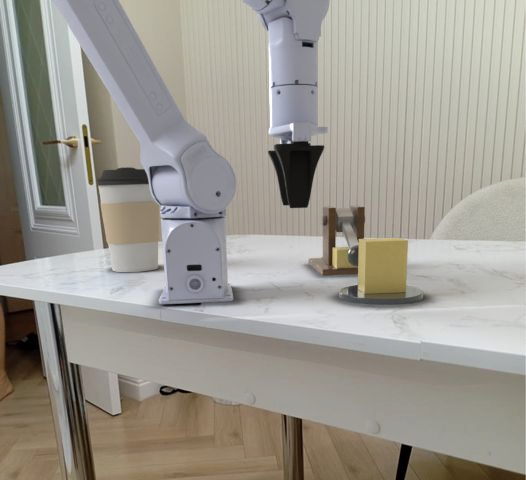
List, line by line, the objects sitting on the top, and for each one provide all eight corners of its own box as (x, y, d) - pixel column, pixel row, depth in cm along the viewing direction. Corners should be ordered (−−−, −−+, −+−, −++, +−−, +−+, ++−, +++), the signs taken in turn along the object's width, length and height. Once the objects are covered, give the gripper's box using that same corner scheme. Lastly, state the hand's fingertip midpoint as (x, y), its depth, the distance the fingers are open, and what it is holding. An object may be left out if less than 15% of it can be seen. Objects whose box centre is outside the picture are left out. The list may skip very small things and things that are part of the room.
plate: (435, 304, 60) (436, 296, 60) (349, 308, 60) (349, 300, 59) (407, 289, 69) (407, 282, 69) (331, 292, 68) (331, 285, 68)
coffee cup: (167, 271, 88) (160, 165, 83) (104, 274, 86) (94, 166, 81) (162, 263, 96) (155, 167, 92) (105, 266, 94) (95, 168, 90)
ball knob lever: (370, 270, 75) (373, 251, 73) (348, 271, 75) (350, 252, 73) (349, 223, 85) (352, 205, 83) (330, 224, 85) (332, 206, 83)
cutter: (381, 274, 80) (383, 207, 77) (322, 277, 79) (322, 209, 76) (359, 262, 91) (360, 204, 89) (308, 264, 90) (308, 205, 88)
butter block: (365, 267, 80) (366, 248, 79) (336, 268, 79) (336, 249, 79) (360, 264, 82) (360, 246, 82) (332, 265, 82) (332, 247, 81)
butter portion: (405, 292, 63) (408, 240, 61) (364, 294, 63) (365, 241, 61) (397, 287, 66) (399, 237, 64) (357, 289, 65) (358, 238, 64)
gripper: (339, 77, 63) (337, 208, 67) (317, 96, 77) (317, 203, 81) (273, 78, 63) (275, 209, 66) (263, 97, 77) (265, 204, 80)
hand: (294, 206), depth 74 cm, fingers open, 7 cm apart
